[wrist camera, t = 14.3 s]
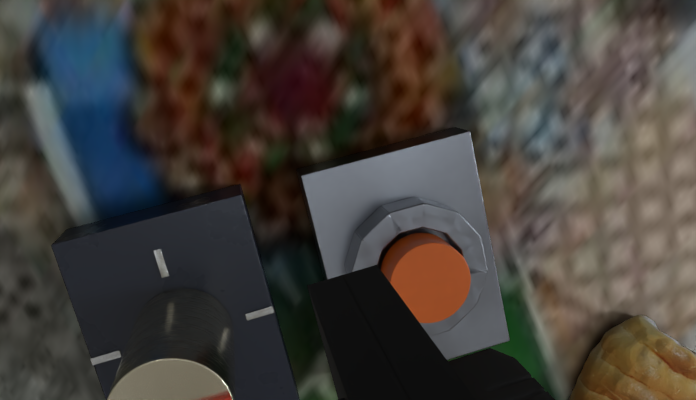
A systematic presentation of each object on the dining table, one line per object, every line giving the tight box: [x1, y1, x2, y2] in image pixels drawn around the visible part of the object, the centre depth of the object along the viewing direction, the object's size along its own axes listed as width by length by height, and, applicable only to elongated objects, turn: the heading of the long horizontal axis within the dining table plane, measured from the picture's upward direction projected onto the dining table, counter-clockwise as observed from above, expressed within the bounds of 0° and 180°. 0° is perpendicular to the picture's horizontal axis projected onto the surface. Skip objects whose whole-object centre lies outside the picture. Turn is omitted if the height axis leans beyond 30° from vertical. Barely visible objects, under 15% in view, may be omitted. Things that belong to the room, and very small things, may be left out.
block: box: [296, 128, 510, 360], centre depth 35 cm, size 12×9×4 cm
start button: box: [381, 233, 471, 323], centre depth 32 cm, size 4×4×2 cm
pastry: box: [569, 315, 696, 400], centre depth 39 cm, size 9×7×4 cm
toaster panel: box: [51, 184, 300, 400], centre depth 34 cm, size 12×9×3 cm
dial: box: [107, 288, 236, 400], centre depth 28 cm, size 5×5×8 cm
